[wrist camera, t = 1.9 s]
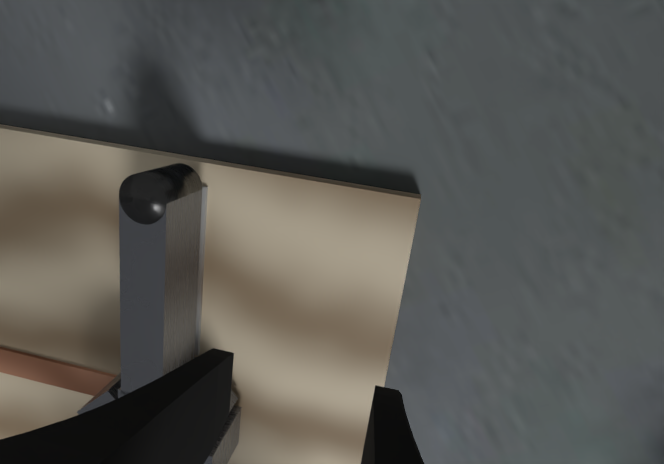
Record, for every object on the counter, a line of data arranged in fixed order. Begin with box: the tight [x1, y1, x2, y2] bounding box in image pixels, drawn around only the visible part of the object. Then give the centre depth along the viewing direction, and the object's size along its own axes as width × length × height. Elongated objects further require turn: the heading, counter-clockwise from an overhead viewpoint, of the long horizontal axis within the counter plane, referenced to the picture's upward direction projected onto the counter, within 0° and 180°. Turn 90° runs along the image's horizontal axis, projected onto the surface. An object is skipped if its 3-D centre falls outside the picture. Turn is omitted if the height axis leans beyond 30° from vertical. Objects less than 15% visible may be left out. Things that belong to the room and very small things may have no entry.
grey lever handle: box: [77, 163, 242, 464], centre depth 21 cm, size 17×7×4 cm, turn 173°
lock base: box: [0, 124, 421, 464], centre depth 23 cm, size 24×24×6 cm
